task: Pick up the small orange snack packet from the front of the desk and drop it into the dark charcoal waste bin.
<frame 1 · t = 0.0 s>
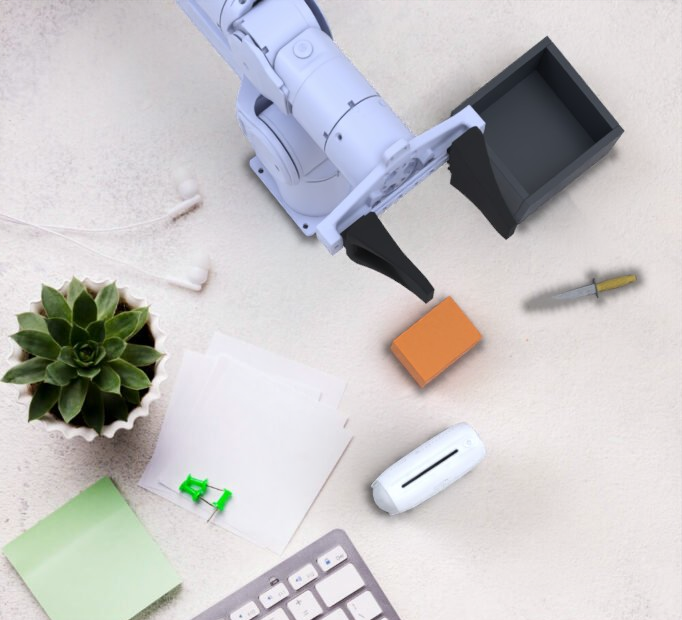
hand: (471, 264, 62), 22 cm above the table, tool horizontal, fingers open, 7 cm apart
packet: (433, 346, 84), on the table
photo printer: (419, 475, 84), on the table
bin: (527, 143, 85), on the table
dagger: (581, 293, 85), on the table
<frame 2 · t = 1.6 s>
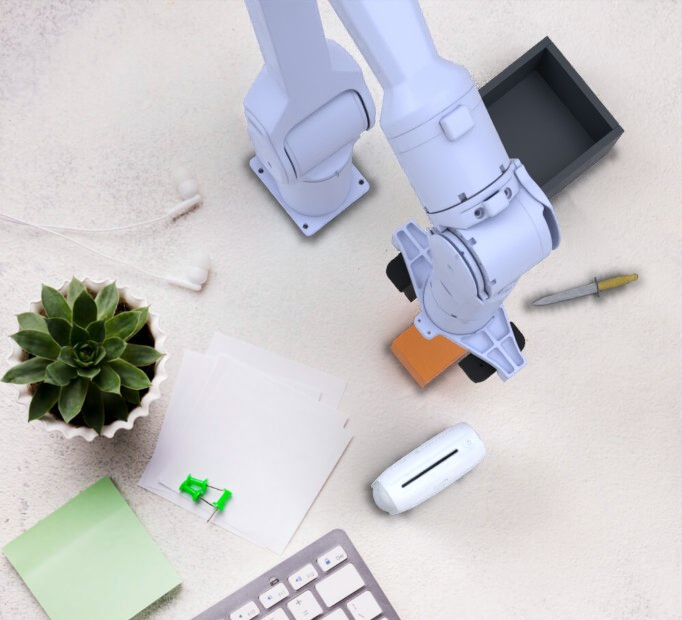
hand: (444, 326, 76), 8 cm above the table, tool pointing down, fingers open, 7 cm apart
nothing on the table moved.
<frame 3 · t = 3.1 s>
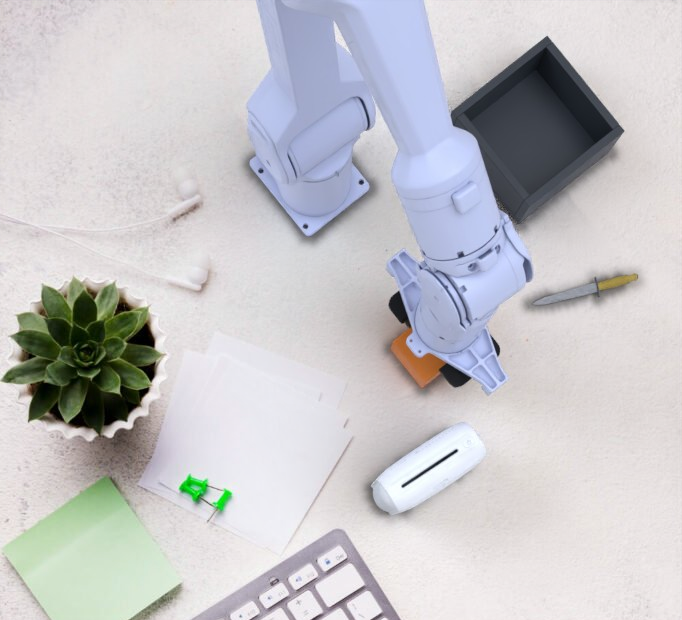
hand: (434, 343, 83), 1 cm above the table, tool pointing down, fingers closed on packet, 5 cm apart
packet: (433, 346, 84), on the table, touching gripper
everything else where it was.
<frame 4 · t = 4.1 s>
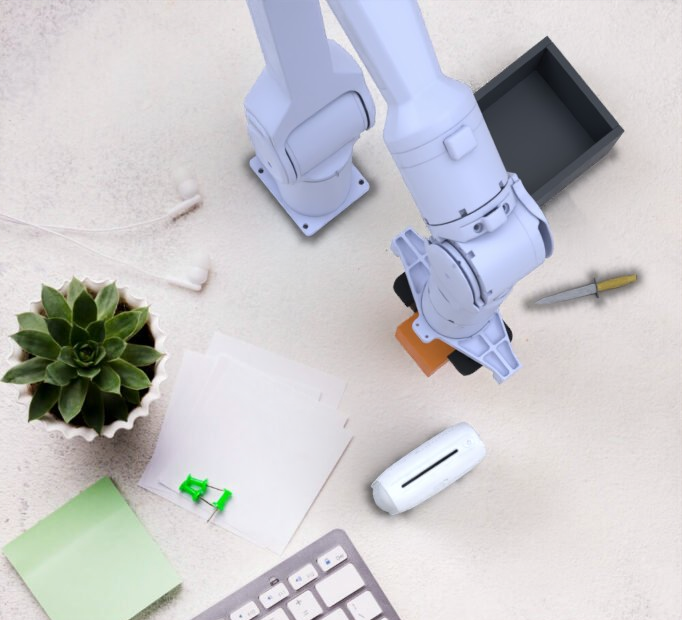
hand: (442, 329, 78), 6 cm above the table, tool pointing down, fingers closed on packet, 5 cm apart
packet: (440, 333, 79), point 5 cm above the table, touching gripper
everything else where it was.
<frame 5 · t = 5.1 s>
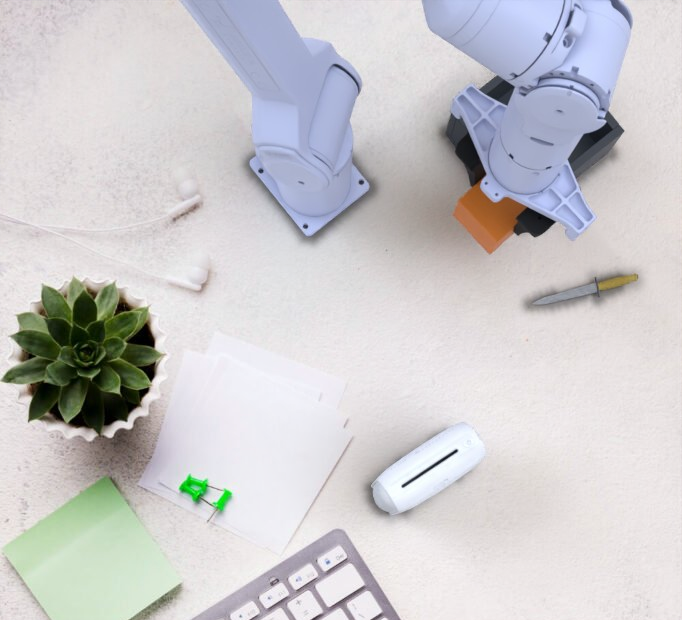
hand: (501, 203, 76), 8 cm above the table, tool pointing down, fingers closed on packet, 5 cm apart
packet: (499, 209, 77), point 7 cm above the table, touching gripper
everything else where it was.
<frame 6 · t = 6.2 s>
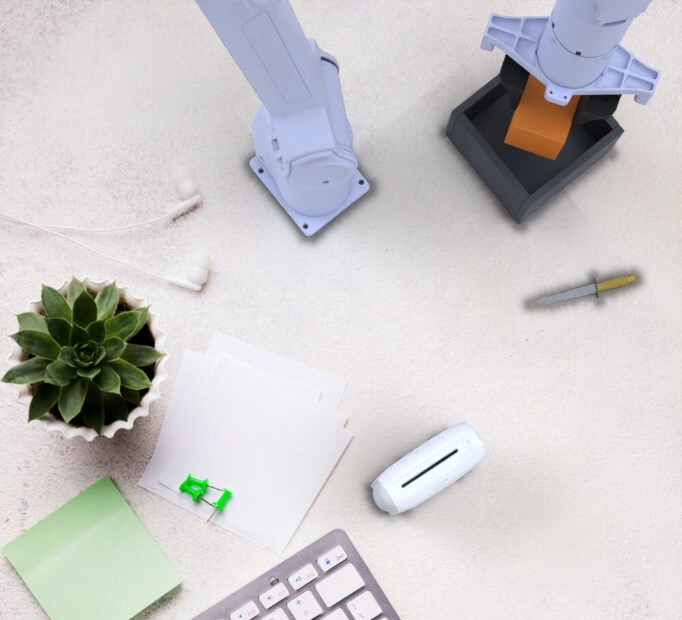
hand: (544, 109, 78), 7 cm above the table, tool pointing down, fingers closed on packet, 5 cm apart
packet: (541, 116, 79), point 5 cm above the table, touching gripper
everything else where it was.
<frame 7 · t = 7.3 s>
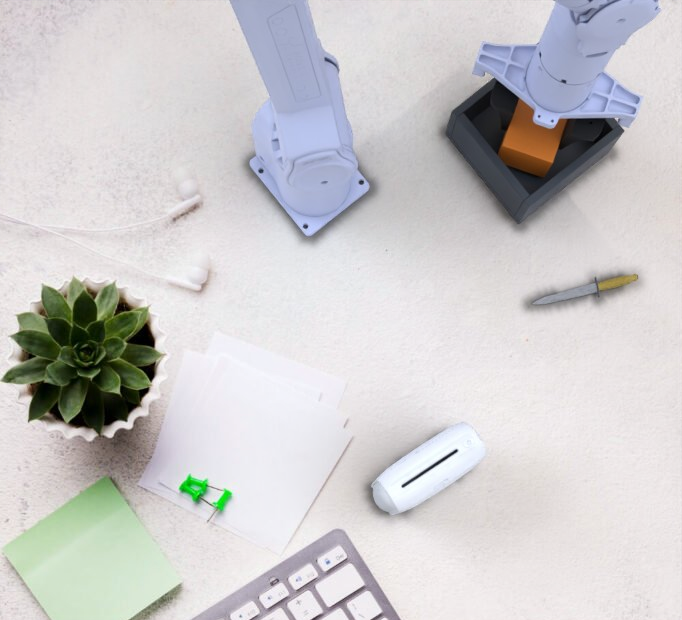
hand: (533, 129, 82), 3 cm above the table, tool pointing down, fingers closed on packet, 5 cm apart
packet: (531, 136, 83), point 1 cm above the table, touching gripper
everything else where it was.
when the fingers open (2 cm above the table, at t = 8.0 s): packet stays where it is, resting on bin.
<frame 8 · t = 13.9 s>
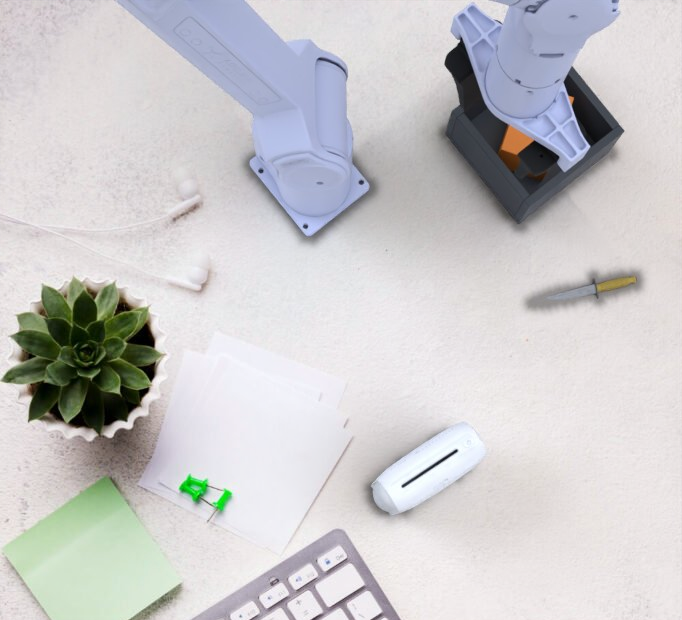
hand: (498, 136, 75), 9 cm above the table, tool pointing down, fingers open, 7 cm apart
packet: (529, 140, 84), point 1 cm above the table, touching bin
everything else where it was.
at the end: packet inside the target area (0.1 cm from its centre), point 0.6 cm above the table; the gripper is holding nothing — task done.
